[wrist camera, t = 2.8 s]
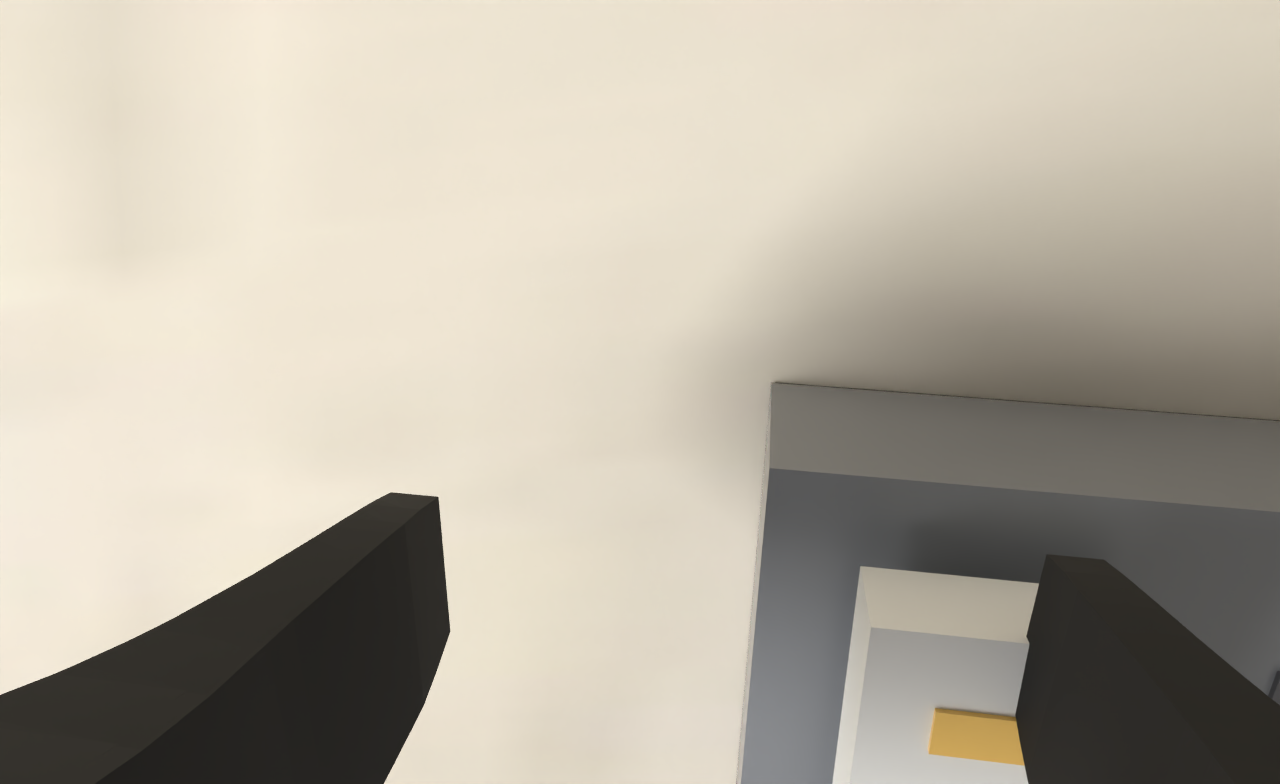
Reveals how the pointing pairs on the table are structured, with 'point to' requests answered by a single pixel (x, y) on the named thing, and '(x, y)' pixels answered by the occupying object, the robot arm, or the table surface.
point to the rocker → (934, 680)
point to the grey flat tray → (992, 532)
